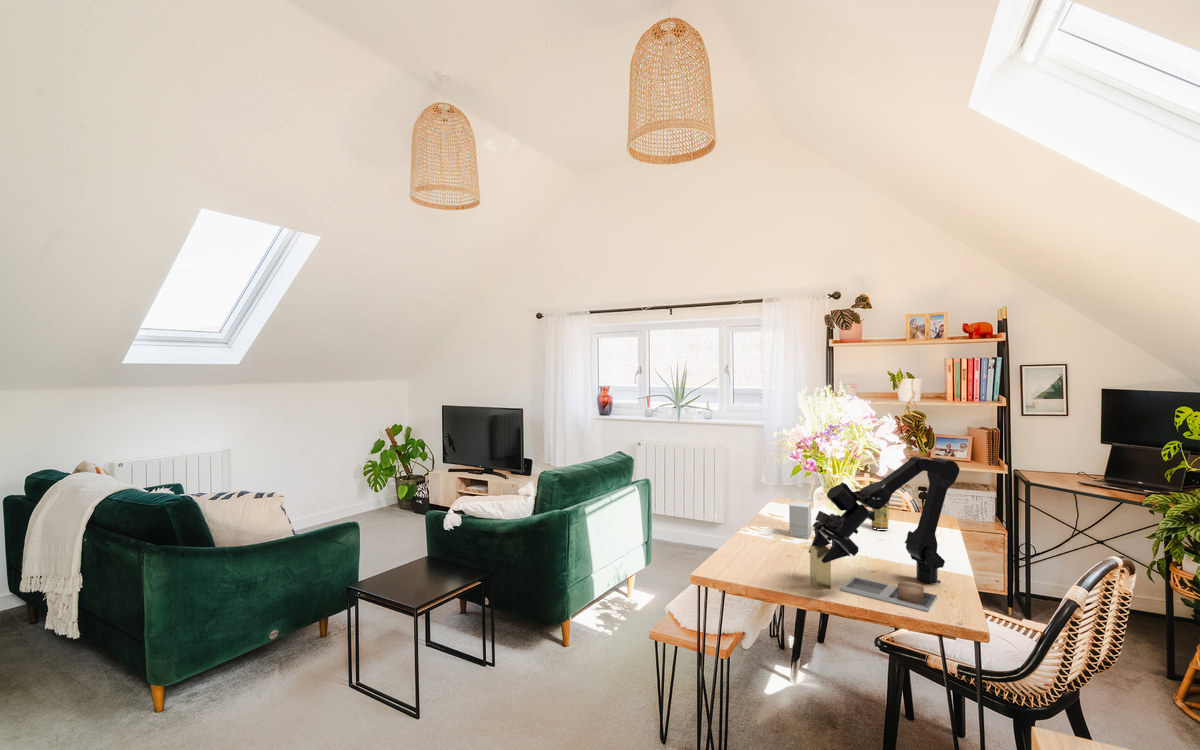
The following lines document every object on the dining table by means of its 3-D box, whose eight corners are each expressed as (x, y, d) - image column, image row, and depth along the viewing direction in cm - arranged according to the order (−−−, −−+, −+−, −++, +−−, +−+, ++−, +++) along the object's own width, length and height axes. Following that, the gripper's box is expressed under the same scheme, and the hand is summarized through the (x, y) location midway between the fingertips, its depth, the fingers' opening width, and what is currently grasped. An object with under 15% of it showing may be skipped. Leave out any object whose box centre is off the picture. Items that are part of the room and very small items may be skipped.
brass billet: (823, 584, 176) (823, 545, 176) (830, 589, 172) (830, 550, 172) (810, 584, 176) (810, 545, 176) (816, 589, 171) (816, 550, 171)
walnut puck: (900, 593, 166) (900, 579, 166) (926, 599, 162) (926, 585, 162) (894, 600, 161) (894, 586, 161) (920, 606, 157) (920, 592, 157)
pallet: (853, 582, 177) (853, 576, 177) (937, 602, 162) (937, 595, 162) (840, 593, 169) (840, 586, 169) (928, 615, 154) (928, 608, 154)
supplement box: (811, 534, 230) (811, 503, 230) (808, 539, 224) (808, 507, 223) (792, 531, 234) (792, 501, 234) (788, 536, 227) (788, 504, 227)
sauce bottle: (870, 530, 236) (870, 482, 236) (872, 526, 241) (872, 480, 241) (888, 532, 232) (888, 484, 232) (889, 529, 238) (890, 481, 237)
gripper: (818, 496, 183) (785, 530, 182) (848, 510, 165) (811, 549, 164) (841, 519, 184) (809, 554, 183) (874, 536, 165) (838, 575, 165)
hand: (815, 557), depth 174 cm, fingers open, 8 cm apart
